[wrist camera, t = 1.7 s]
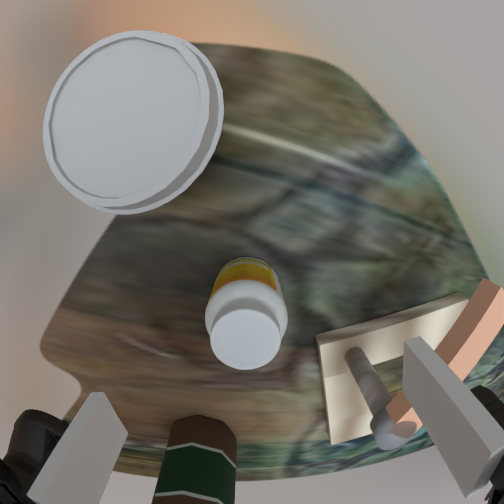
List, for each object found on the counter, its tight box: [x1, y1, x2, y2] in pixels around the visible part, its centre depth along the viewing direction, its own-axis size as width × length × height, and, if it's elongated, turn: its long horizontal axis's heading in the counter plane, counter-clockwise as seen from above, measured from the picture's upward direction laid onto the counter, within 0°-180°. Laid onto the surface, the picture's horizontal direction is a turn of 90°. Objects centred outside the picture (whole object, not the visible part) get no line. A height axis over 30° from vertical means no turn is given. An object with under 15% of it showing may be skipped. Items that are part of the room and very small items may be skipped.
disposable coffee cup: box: [43, 30, 224, 215], centre depth 17 cm, size 10×10×12 cm
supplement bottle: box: [205, 257, 288, 370], centre depth 21 cm, size 5×5×10 cm
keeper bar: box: [370, 278, 504, 450], centre depth 15 cm, size 12×3×2 cm, turn 147°
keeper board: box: [315, 292, 469, 445], centre depth 23 cm, size 16×14×10 cm
